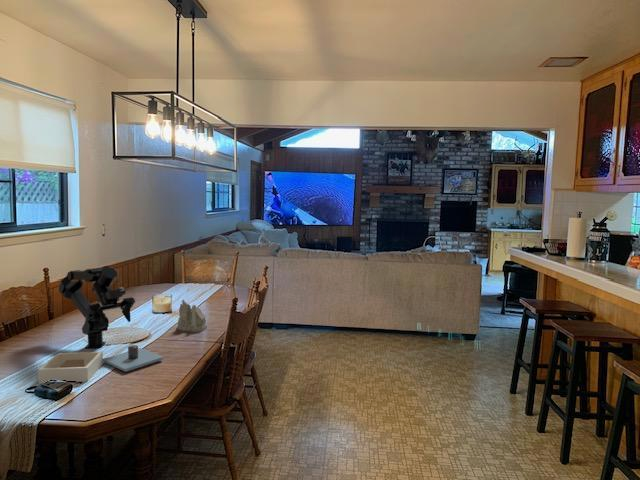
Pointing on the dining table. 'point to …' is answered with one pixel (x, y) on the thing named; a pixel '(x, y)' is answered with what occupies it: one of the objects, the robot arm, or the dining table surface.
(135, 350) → the lid
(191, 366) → the dining table surface
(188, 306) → the grey jagged lump
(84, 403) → the dining table surface
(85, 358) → the box
